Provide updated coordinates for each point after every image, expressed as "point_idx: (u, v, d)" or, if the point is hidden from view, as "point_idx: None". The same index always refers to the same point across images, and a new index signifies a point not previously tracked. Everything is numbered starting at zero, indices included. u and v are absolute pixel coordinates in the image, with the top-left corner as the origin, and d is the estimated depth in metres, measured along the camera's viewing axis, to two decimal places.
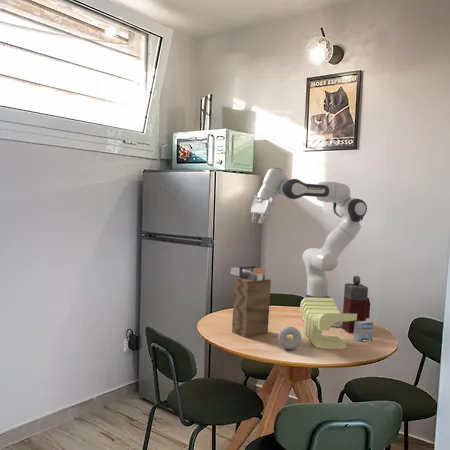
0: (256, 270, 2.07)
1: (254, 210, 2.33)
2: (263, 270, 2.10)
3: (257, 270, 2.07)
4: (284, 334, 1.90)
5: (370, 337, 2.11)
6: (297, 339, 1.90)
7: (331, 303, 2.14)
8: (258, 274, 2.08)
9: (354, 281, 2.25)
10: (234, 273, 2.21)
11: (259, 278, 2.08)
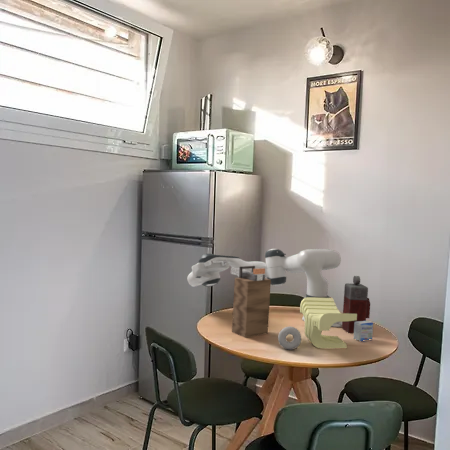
0: (256, 270, 2.07)
1: None
2: (263, 270, 2.10)
3: (257, 270, 2.07)
4: (284, 334, 1.90)
5: (370, 337, 2.11)
6: (297, 339, 1.90)
7: (331, 303, 2.14)
8: (258, 274, 2.08)
9: (354, 281, 2.25)
10: (234, 273, 2.21)
11: (259, 278, 2.08)
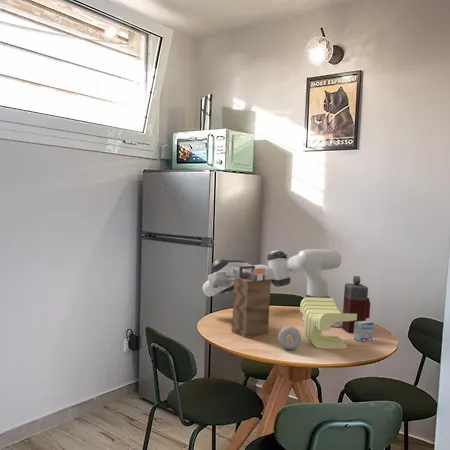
0: (256, 270, 2.07)
1: None
2: (263, 270, 2.10)
3: (257, 270, 2.07)
4: (284, 334, 1.90)
5: (370, 337, 2.11)
6: (297, 339, 1.90)
7: (331, 303, 2.14)
8: (258, 274, 2.08)
9: (354, 281, 2.25)
10: (234, 273, 2.21)
11: (259, 278, 2.08)
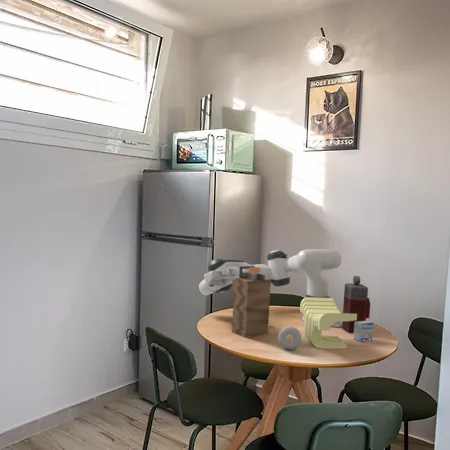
0: (251, 269, 2.10)
1: None
2: (258, 269, 2.12)
3: (252, 269, 2.10)
4: (284, 334, 1.90)
5: (370, 337, 2.11)
6: (297, 339, 1.90)
7: (331, 303, 2.14)
8: (253, 273, 2.10)
9: (354, 281, 2.25)
10: (230, 272, 2.24)
11: None
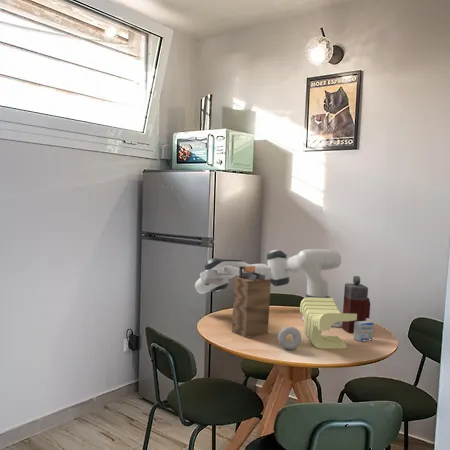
0: (246, 268, 2.12)
1: None
2: (253, 268, 2.15)
3: (247, 268, 2.13)
4: (284, 334, 1.90)
5: (370, 337, 2.11)
6: (297, 339, 1.90)
7: (331, 303, 2.14)
8: (248, 272, 2.13)
9: (354, 281, 2.25)
10: (226, 270, 2.27)
11: None
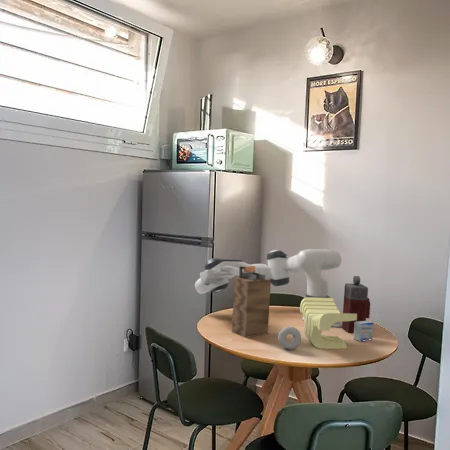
0: (246, 268, 2.12)
1: None
2: (253, 268, 2.15)
3: (247, 268, 2.13)
4: (284, 334, 1.90)
5: (370, 337, 2.11)
6: (297, 339, 1.90)
7: (331, 303, 2.14)
8: (248, 272, 2.13)
9: (354, 281, 2.25)
10: (226, 270, 2.27)
11: None
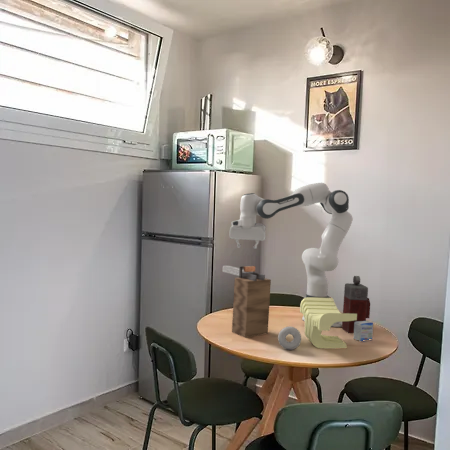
0: (246, 268, 2.12)
1: (238, 237, 2.45)
2: (253, 268, 2.15)
3: (247, 268, 2.13)
4: (284, 334, 1.90)
5: (370, 337, 2.11)
6: (297, 339, 1.90)
7: (331, 303, 2.14)
8: (248, 272, 2.13)
9: (354, 281, 2.25)
10: (226, 270, 2.27)
11: None
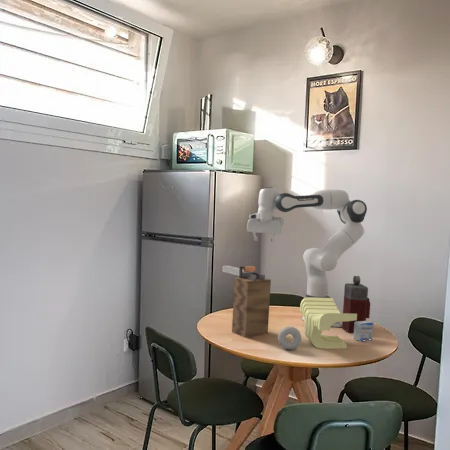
0: (246, 268, 2.12)
1: (256, 230, 2.47)
2: (253, 268, 2.15)
3: (247, 268, 2.13)
4: (284, 334, 1.90)
5: (370, 337, 2.11)
6: (297, 339, 1.90)
7: (331, 303, 2.14)
8: (248, 272, 2.13)
9: (354, 281, 2.25)
10: (226, 270, 2.27)
11: None
